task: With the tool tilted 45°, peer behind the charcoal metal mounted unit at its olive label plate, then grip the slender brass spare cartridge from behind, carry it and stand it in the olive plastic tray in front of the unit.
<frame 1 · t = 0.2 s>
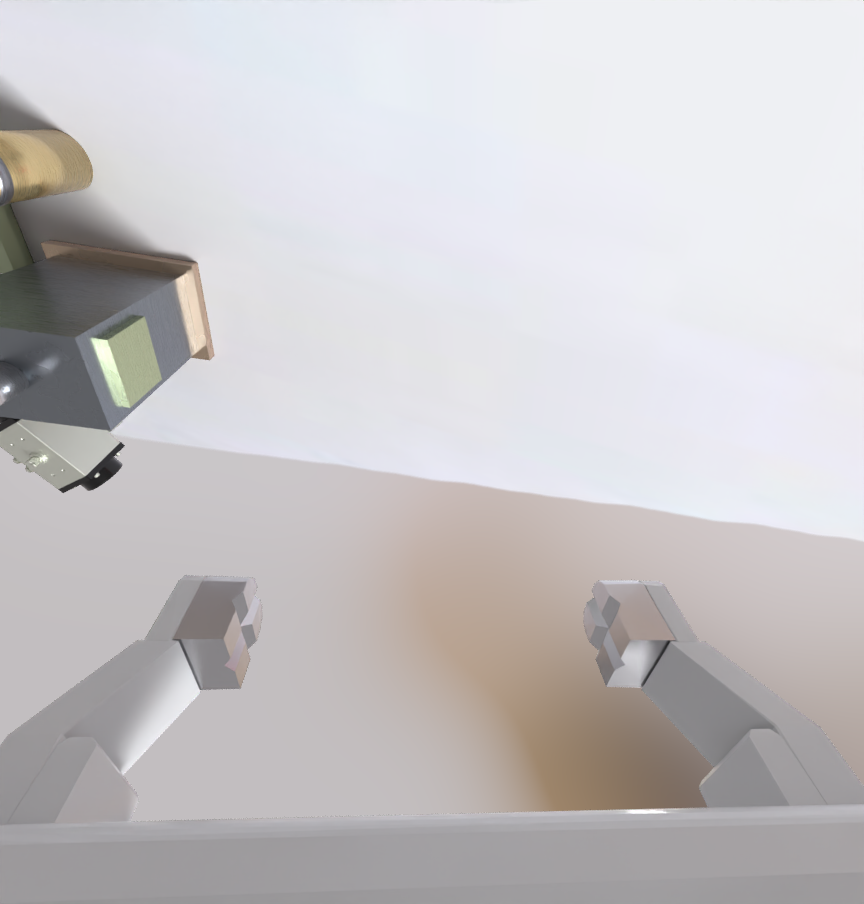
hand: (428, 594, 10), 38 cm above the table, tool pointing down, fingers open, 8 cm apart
pneumatic valve: (104, 403, 53), on the table
mounted unit: (138, 302, 45), on the table
spare cartridge: (65, 160, 37), on the table
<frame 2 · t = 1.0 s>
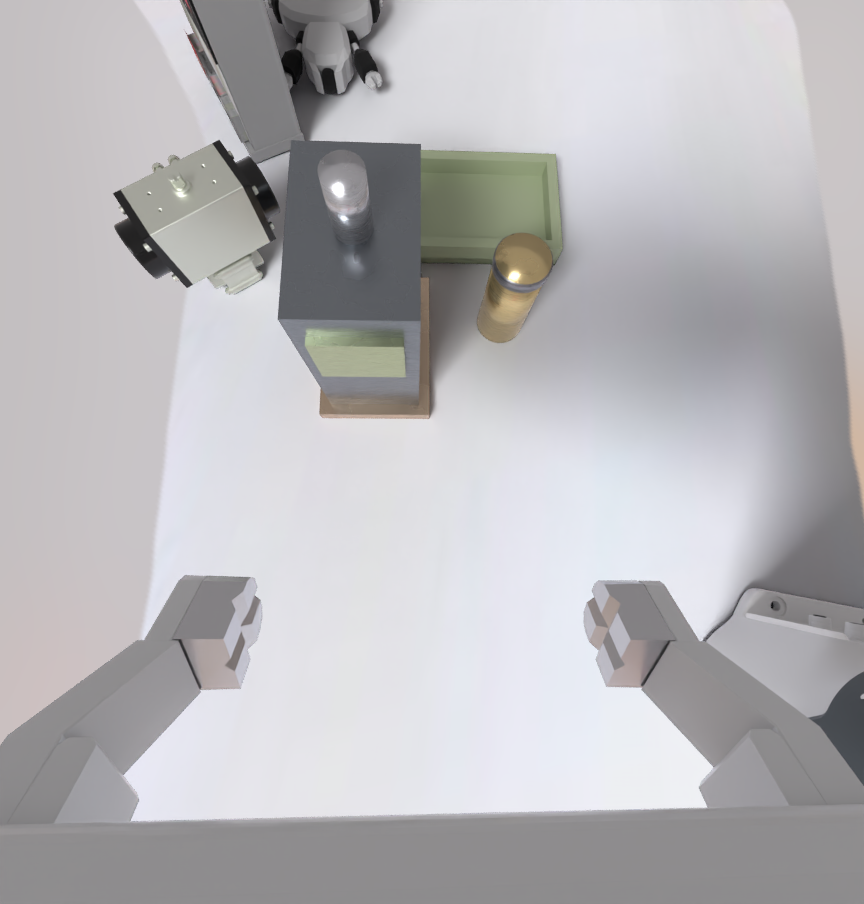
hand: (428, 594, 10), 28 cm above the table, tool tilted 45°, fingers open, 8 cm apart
pneumatic valve: (239, 273, 43), on the table
olive tray: (476, 216, 45), on the table
robot toy: (332, 56, 49), on the table
upright grey panel: (254, 110, 47), on the table
mounted unit: (377, 348, 42), on the table
spare cartridge: (499, 322, 43), on the table
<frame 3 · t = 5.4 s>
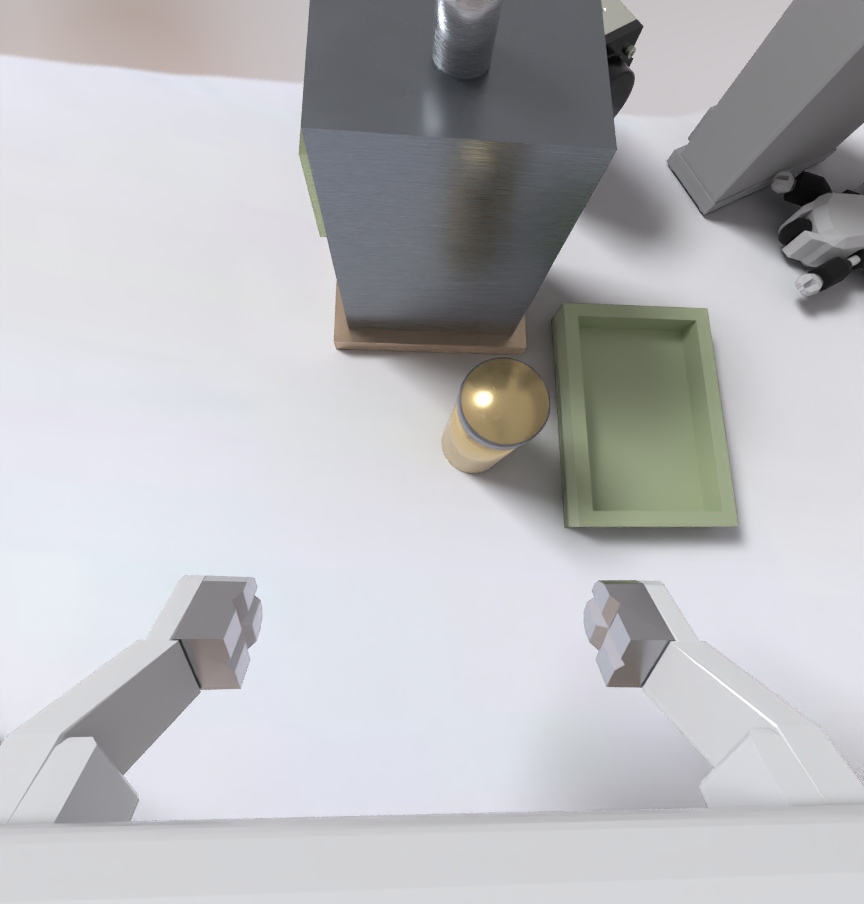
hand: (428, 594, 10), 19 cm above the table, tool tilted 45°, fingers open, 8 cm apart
pneumatic valve: (522, 149, 37), on the table
olive tray: (628, 419, 32), on the table
robot toy: (839, 250, 37), on the table
upright grey panel: (741, 164, 38), on the table
mounted unit: (430, 291, 33), on the table
spare cartridge: (472, 443, 31), on the table
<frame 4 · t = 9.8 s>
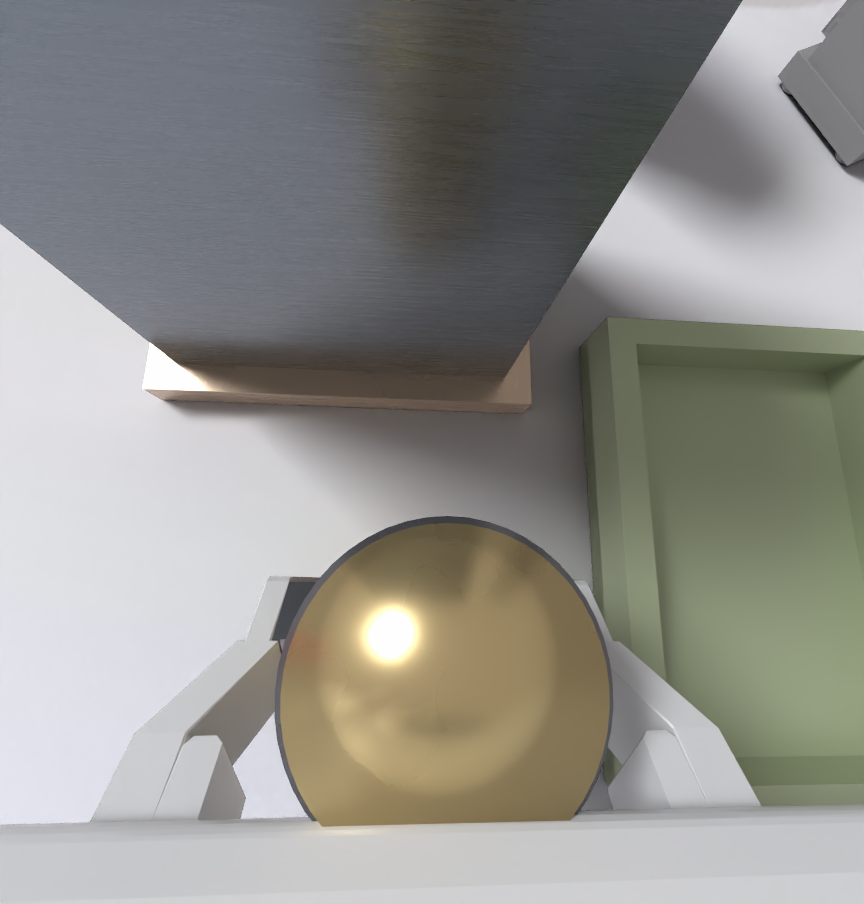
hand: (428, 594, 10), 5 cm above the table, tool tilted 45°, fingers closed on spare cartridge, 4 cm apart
olive tray: (727, 544, 17), on the table
mounted unit: (354, 291, 18), on the table
spare cartridge: (419, 594, 15), on the table, touching gripper
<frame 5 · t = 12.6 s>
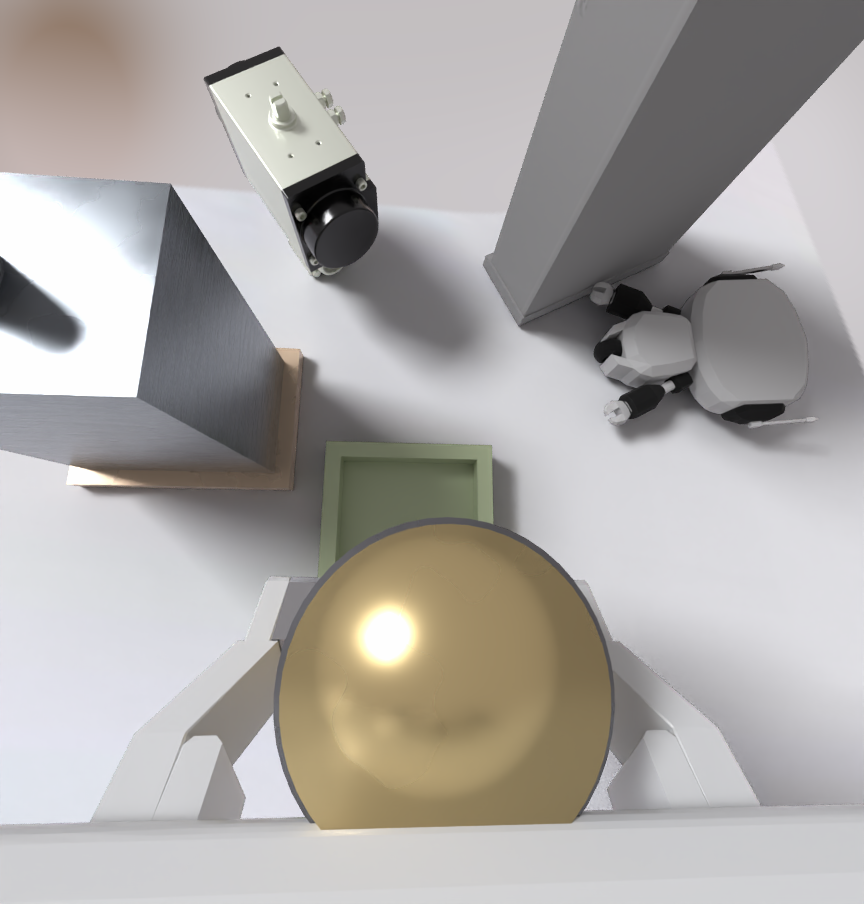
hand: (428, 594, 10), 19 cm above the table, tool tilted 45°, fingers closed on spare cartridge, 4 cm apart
pneumatic valve: (325, 251, 34), on the table
olive tray: (406, 565, 29), on the table
robot toy: (673, 363, 34), on the table
upright grey panel: (570, 265, 35), on the table
mounted unit: (197, 417, 30), on the table
spare cartridge: (419, 595, 15), point 14 cm above the table, touching gripper
when the fingers open (7 cm above the table, at t = 15.2 s): spare cartridge drops 1 cm, resting on olive tray.
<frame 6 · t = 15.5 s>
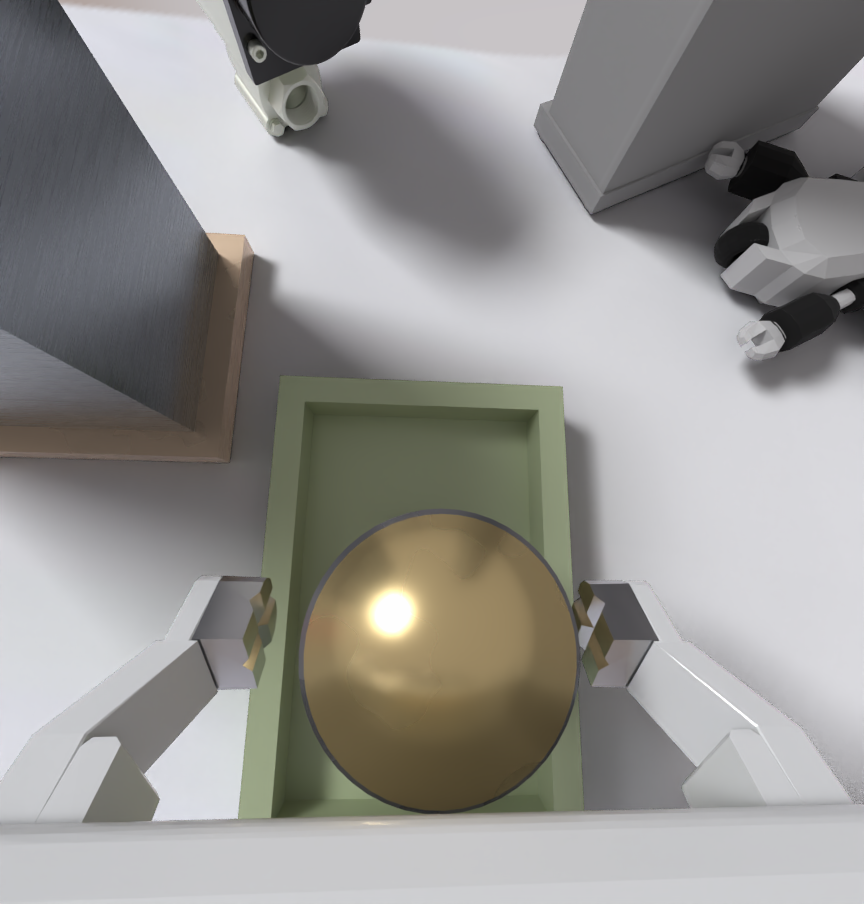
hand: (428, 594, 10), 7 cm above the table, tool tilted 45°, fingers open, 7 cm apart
pneumatic valve: (292, 104, 22), on the table
olive tray: (417, 589, 17), on the table
robot toy: (824, 277, 22), on the table
upright grey panel: (663, 133, 23), on the table
mounted unit: (76, 345, 19), on the table
spare cartridge: (418, 591, 17), point 1 cm above the table, touching olive tray
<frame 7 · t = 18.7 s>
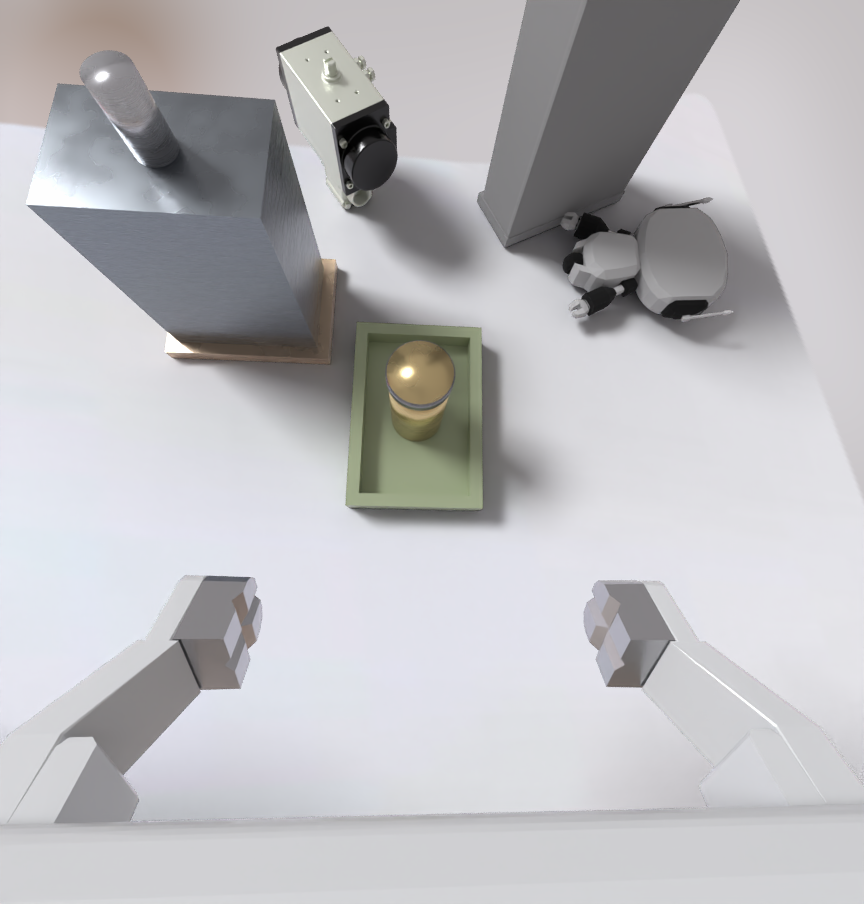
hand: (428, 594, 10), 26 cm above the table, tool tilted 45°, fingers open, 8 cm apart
pneumatic valve: (353, 191, 43), on the table
olive tray: (416, 420, 38), on the table
robot toy: (627, 279, 43), on the table
upright grey panel: (546, 203, 45), on the table
mounted unit: (257, 311, 40), on the table
spare cartridge: (416, 417, 38), point 1 cm above the table, touching olive tray
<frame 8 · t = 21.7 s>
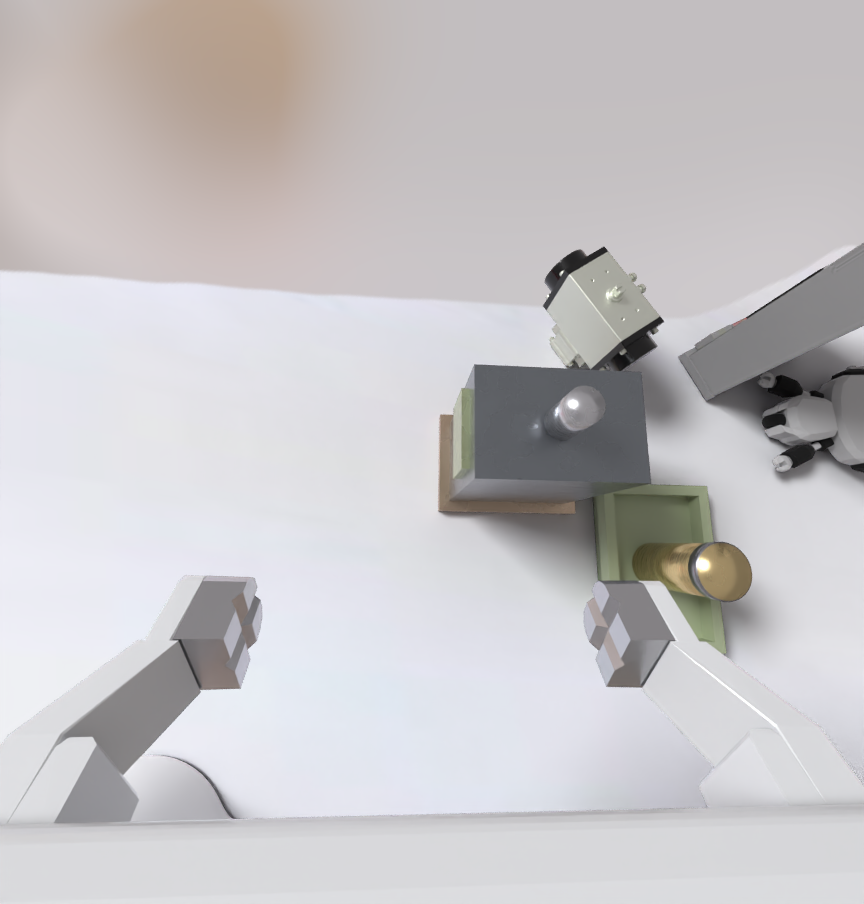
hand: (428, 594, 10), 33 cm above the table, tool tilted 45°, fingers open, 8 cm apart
pneumatic valve: (570, 347, 49), on the table
olive tray: (648, 564, 44), on the table
robot toy: (810, 426, 49), on the table
upright grey panel: (735, 355, 50), on the table
mounted unit: (504, 465, 45), on the table
spare cartridge: (652, 564, 44), point 1 cm above the table, touching olive tray
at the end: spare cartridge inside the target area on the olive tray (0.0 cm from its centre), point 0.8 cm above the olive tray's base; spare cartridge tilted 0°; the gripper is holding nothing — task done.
